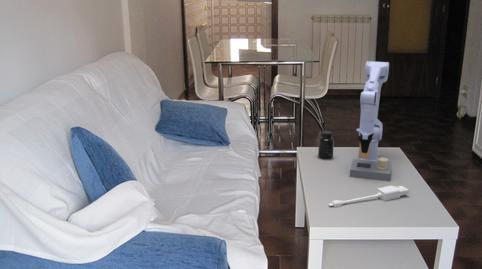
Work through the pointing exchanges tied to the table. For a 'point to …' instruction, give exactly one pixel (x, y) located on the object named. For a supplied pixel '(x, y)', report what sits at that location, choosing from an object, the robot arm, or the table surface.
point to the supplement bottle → (326, 145)
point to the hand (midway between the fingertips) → (364, 151)
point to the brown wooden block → (363, 155)
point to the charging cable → (378, 195)
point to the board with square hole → (371, 169)
